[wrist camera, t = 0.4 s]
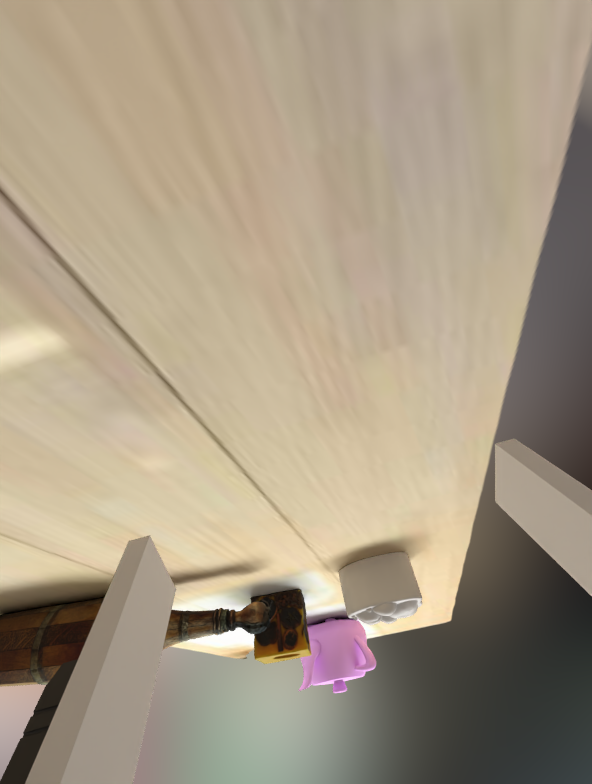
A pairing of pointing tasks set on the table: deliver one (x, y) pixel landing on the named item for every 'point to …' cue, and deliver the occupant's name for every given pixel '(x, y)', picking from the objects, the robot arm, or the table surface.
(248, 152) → the table surface
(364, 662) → the teapot
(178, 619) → the decorative bottle
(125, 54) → the table surface
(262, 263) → the table surface
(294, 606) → the candle
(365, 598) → the lumpy-topped squat cylinder
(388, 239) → the table surface
